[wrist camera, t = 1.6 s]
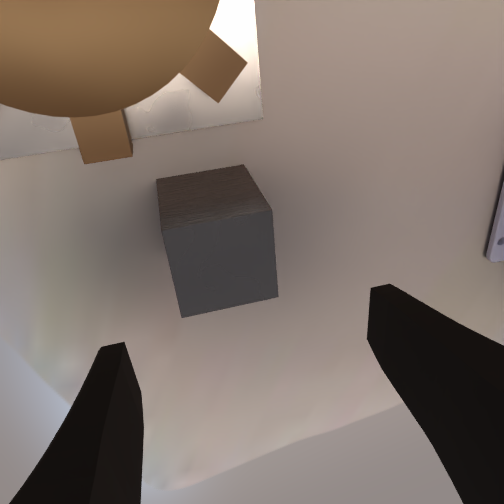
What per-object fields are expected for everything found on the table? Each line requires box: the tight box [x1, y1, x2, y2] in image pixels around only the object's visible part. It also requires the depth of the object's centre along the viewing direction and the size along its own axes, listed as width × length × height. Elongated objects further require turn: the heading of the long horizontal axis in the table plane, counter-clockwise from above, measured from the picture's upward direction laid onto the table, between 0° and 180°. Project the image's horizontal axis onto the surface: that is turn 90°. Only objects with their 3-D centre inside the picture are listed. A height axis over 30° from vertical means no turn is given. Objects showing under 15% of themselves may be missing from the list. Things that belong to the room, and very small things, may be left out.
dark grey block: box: [156, 164, 278, 318], centre depth 18 cm, size 4×4×5 cm
